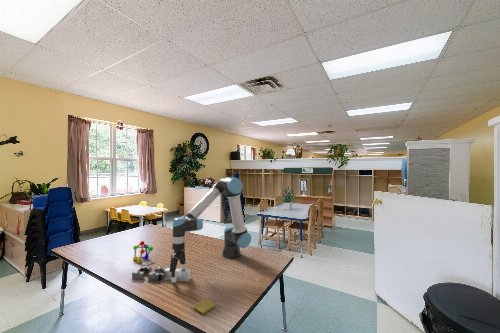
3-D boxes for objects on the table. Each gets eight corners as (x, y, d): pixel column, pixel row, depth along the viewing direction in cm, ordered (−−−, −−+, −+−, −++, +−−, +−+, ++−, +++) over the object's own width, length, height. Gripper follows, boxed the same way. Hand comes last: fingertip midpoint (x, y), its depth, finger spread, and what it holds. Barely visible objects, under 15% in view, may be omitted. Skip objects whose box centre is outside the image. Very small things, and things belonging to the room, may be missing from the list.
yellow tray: (202, 316, 104) (202, 312, 104) (191, 309, 110) (191, 305, 110) (216, 308, 110) (216, 304, 110) (205, 301, 116) (205, 297, 116)
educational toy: (155, 260, 172) (156, 241, 172) (140, 266, 161) (141, 246, 161) (143, 254, 180) (144, 236, 179) (127, 260, 169) (129, 240, 168)
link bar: (190, 278, 140) (190, 269, 140) (188, 281, 137) (188, 271, 137) (167, 277, 143) (167, 267, 143) (164, 279, 139) (164, 270, 139)
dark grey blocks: (171, 274, 146) (171, 267, 146) (162, 281, 136) (162, 274, 136) (142, 272, 149) (142, 265, 149) (132, 279, 139) (132, 271, 139)
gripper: (181, 237, 152) (180, 269, 151) (163, 247, 130) (162, 286, 129) (191, 237, 151) (190, 270, 150) (175, 248, 129) (174, 287, 128)
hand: (177, 277), depth 139 cm, fingers open, 10 cm apart
